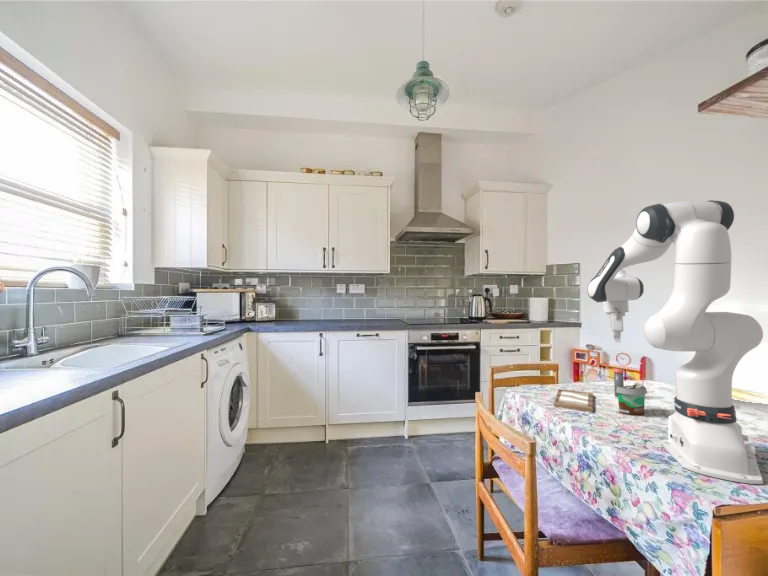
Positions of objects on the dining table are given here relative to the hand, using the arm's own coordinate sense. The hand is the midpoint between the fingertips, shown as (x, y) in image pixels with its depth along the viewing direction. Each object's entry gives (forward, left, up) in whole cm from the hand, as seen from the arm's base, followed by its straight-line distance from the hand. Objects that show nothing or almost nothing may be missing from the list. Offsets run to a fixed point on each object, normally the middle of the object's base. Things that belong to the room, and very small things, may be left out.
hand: (617, 340), depth 135 cm
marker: (0, 0, -24) cm, 24 cm away
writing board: (-13, +16, -24) cm, 32 cm away
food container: (-18, -4, -24) cm, 31 cm away
